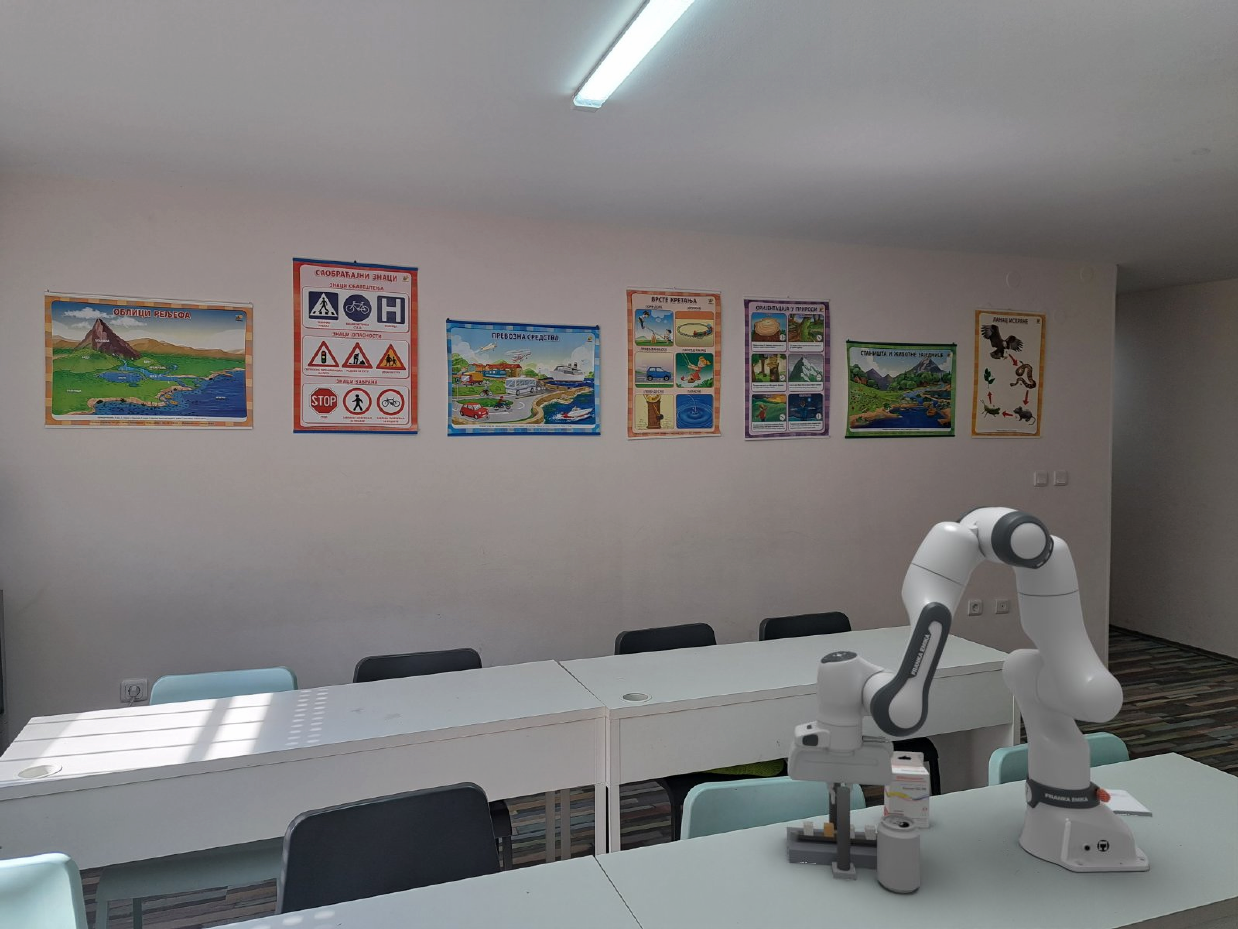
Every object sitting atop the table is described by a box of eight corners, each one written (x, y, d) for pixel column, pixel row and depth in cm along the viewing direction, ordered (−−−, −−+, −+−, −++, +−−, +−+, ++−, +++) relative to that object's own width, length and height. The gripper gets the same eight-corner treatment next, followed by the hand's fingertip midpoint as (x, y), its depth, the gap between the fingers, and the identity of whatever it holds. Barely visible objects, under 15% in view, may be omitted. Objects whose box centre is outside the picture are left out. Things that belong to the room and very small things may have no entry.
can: (914, 899, 146) (915, 832, 146) (872, 888, 150) (872, 823, 150) (923, 881, 153) (923, 817, 153) (882, 870, 157) (882, 808, 156)
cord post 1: (843, 832, 173) (843, 755, 173) (845, 841, 169) (846, 762, 169) (824, 831, 173) (824, 754, 173) (826, 839, 169) (826, 761, 169)
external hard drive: (1112, 817, 182) (1088, 794, 194) (1152, 819, 180) (1125, 796, 193) (1112, 810, 182) (1088, 787, 194) (1152, 812, 180) (1125, 789, 193)
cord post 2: (853, 869, 157) (853, 785, 157) (855, 880, 153) (855, 793, 153) (831, 868, 158) (831, 784, 158) (833, 878, 154) (833, 792, 154)
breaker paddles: (879, 840, 163) (879, 826, 163) (881, 844, 161) (881, 830, 161) (797, 834, 165) (797, 820, 165) (798, 838, 163) (798, 824, 163)
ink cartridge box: (888, 827, 175) (889, 758, 175) (883, 817, 180) (883, 750, 180) (930, 828, 175) (930, 759, 174) (923, 818, 179) (923, 751, 179)
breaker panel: (886, 846, 167) (886, 826, 167) (895, 870, 157) (895, 849, 157) (786, 839, 170) (786, 819, 170) (789, 862, 160) (789, 841, 160)
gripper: (890, 731, 165) (890, 800, 165) (787, 726, 168) (787, 793, 168) (896, 742, 158) (896, 813, 158) (788, 736, 162) (788, 806, 162)
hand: (839, 803), depth 163 cm, fingers closed
